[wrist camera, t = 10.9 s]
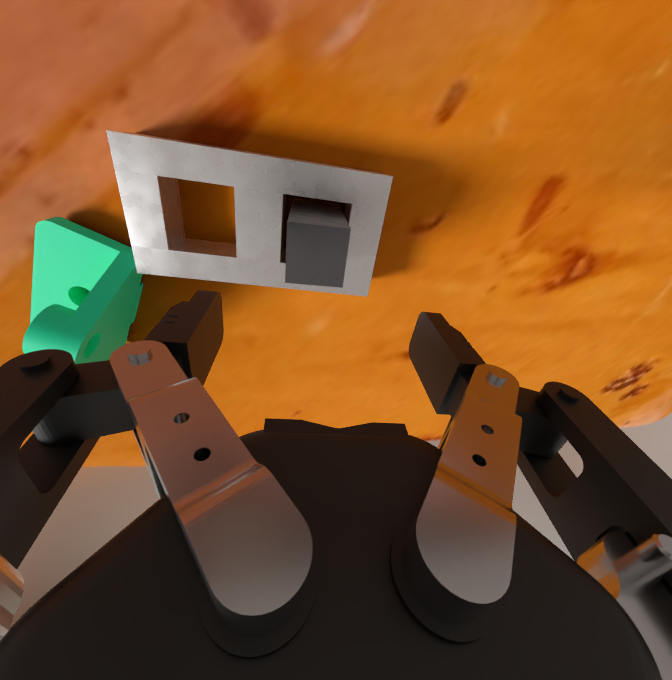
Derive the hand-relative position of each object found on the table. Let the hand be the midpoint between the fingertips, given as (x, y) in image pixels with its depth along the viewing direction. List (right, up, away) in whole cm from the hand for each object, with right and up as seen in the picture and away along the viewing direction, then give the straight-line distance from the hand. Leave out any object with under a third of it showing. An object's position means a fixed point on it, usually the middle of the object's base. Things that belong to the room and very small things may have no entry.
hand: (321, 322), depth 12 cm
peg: (-1, +10, +16) cm, 19 cm away
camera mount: (-23, +5, +18) cm, 30 cm away
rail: (-6, +10, +15) cm, 19 cm away
